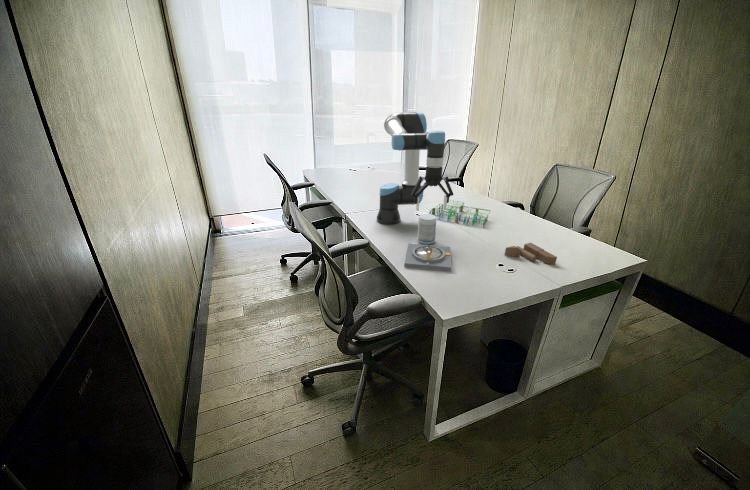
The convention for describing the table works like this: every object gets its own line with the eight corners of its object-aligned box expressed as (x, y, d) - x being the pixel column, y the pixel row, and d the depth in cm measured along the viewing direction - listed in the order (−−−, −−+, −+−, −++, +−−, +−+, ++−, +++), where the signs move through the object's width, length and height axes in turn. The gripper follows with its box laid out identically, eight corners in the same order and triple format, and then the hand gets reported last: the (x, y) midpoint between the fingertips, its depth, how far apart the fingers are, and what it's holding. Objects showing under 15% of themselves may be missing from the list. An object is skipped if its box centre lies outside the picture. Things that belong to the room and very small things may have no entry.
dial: (417, 248, 172) (417, 238, 170) (440, 249, 170) (441, 240, 168) (415, 261, 159) (415, 251, 157) (440, 264, 157) (441, 253, 155)
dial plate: (404, 266, 159) (404, 260, 158) (408, 246, 179) (408, 241, 177) (450, 271, 156) (451, 264, 154) (449, 250, 175) (450, 244, 174)
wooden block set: (530, 240, 175) (558, 254, 160) (527, 249, 177) (555, 264, 162) (504, 245, 169) (532, 260, 154) (502, 254, 172) (529, 271, 157)
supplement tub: (437, 244, 182) (439, 219, 175) (420, 245, 180) (422, 220, 173) (430, 236, 190) (432, 212, 184) (414, 238, 188) (416, 214, 182)
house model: (428, 218, 218) (429, 211, 215) (442, 205, 241) (443, 198, 239) (482, 228, 203) (483, 221, 201) (491, 213, 226) (492, 206, 224)
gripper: (409, 168, 149) (407, 212, 158) (463, 167, 151) (458, 211, 160) (406, 164, 156) (404, 207, 165) (458, 164, 158) (453, 206, 167)
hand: (430, 209), depth 163 cm, fingers open, 13 cm apart
